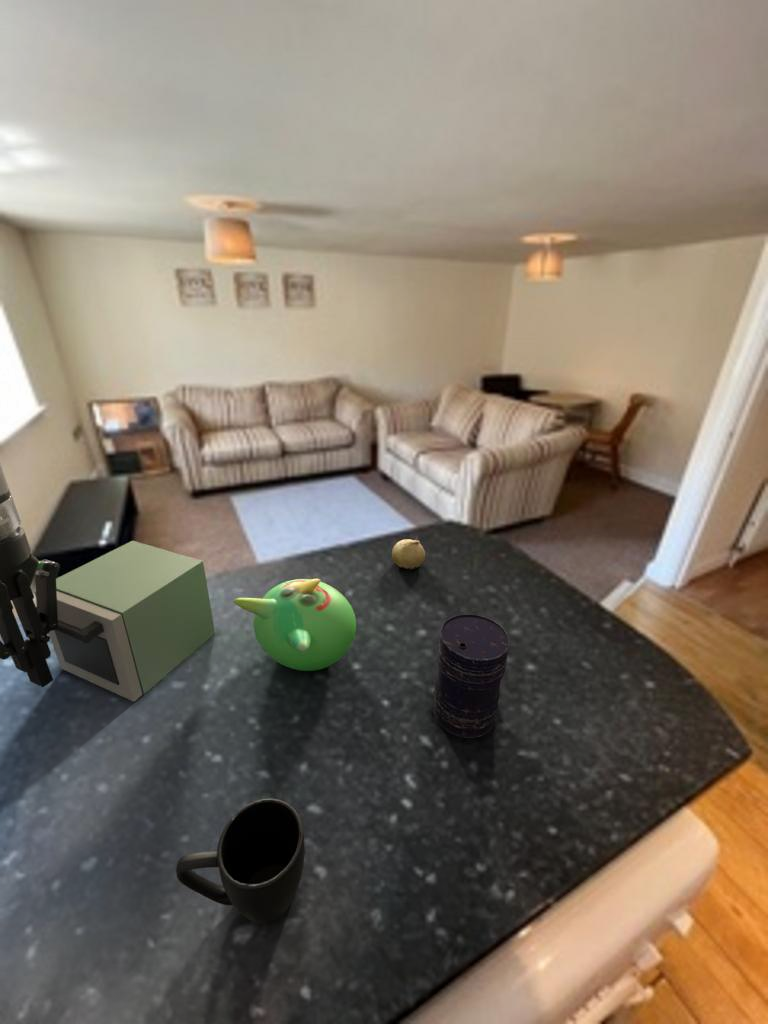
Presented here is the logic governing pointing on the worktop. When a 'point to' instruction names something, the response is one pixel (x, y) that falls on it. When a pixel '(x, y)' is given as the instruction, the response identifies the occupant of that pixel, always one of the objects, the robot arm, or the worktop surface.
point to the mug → (253, 862)
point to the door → (94, 646)
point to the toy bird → (302, 623)
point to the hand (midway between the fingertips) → (42, 680)
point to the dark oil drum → (469, 674)
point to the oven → (149, 603)
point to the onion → (408, 554)
